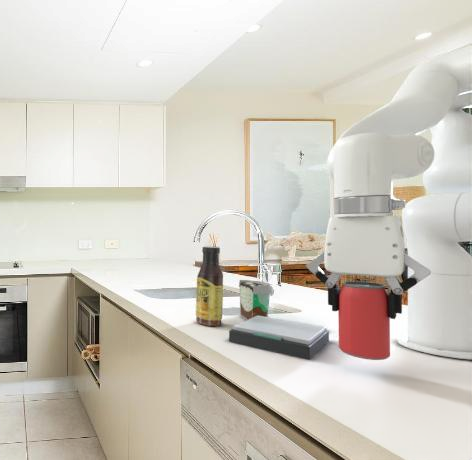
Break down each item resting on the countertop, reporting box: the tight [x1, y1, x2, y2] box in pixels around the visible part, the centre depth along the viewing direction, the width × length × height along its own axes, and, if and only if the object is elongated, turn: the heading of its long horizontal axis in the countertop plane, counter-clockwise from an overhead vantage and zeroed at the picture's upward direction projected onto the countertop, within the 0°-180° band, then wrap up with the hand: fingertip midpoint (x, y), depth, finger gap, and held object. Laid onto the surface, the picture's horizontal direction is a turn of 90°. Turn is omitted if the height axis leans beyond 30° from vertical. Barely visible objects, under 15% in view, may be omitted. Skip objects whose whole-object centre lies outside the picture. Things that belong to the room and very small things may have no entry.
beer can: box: [337, 281, 391, 361], centre depth 60 cm, size 7×7×12 cm
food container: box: [238, 279, 274, 321], centre depth 95 cm, size 12×6×10 cm, turn 168°
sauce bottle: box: [195, 245, 224, 327], centre depth 91 cm, size 6×6×20 cm
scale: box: [228, 316, 330, 360], centre depth 77 cm, size 17×14×3 cm
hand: (363, 312), depth 60 cm, fingers closed on beer can, 6 cm apart
